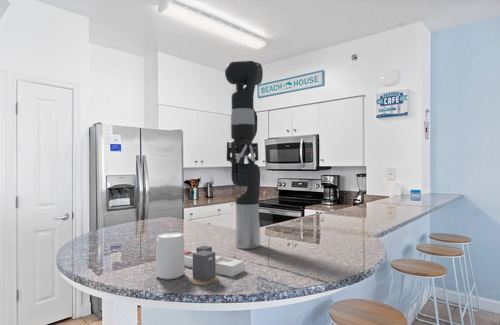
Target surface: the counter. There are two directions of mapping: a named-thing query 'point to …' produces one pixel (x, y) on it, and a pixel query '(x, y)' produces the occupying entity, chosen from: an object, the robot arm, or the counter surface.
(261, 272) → the counter surface
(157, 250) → the beverage can
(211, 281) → the coaster
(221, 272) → the power strip
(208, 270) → the block
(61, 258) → the counter surface
